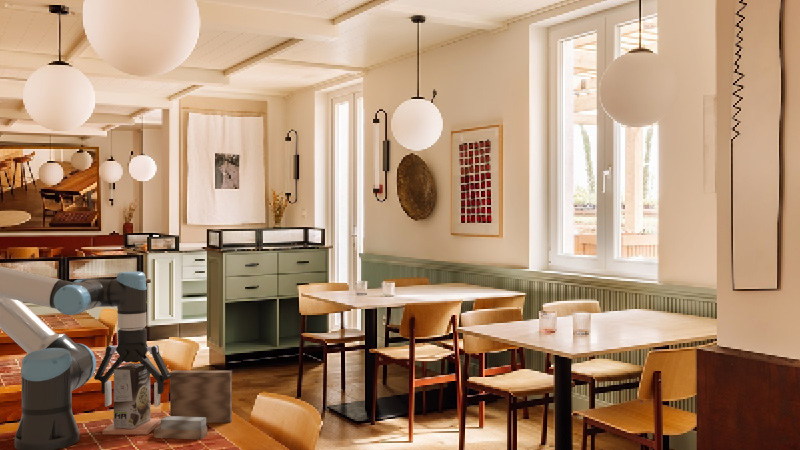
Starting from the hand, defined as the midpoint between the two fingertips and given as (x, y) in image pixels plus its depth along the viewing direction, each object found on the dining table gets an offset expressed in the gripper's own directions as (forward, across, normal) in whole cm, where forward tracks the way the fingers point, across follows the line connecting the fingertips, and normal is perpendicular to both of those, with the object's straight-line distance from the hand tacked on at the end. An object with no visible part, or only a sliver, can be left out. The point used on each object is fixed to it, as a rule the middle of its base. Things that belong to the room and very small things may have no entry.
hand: (132, 405), depth 212 cm
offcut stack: (+6, -16, +8) cm, 18 cm away
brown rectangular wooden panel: (+6, -17, -7) cm, 19 cm away
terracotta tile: (+6, 0, 0) cm, 6 cm away
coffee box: (+5, 0, 0) cm, 5 cm away
